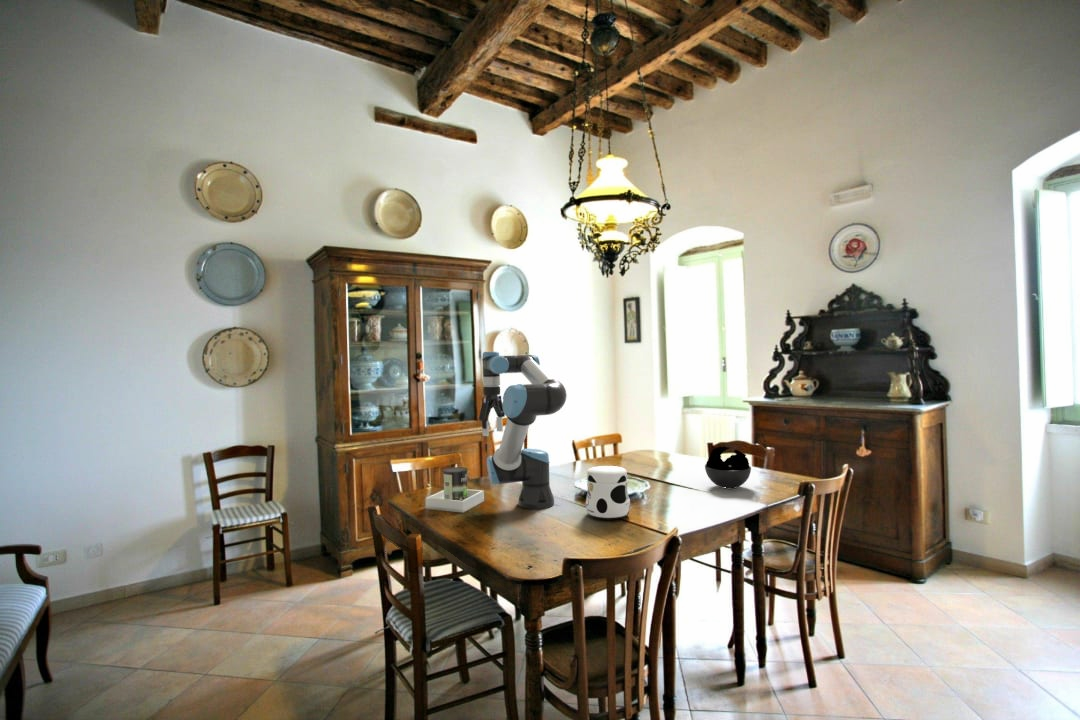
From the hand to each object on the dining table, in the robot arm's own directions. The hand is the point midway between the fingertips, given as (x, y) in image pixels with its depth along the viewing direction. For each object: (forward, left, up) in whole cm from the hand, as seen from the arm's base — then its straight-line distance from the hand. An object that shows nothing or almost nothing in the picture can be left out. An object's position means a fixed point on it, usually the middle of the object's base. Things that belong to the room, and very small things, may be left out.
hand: (492, 433), depth 240 cm
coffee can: (+11, +15, -28) cm, 33 cm away
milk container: (-55, +10, -29) cm, 63 cm away
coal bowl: (-96, -47, -29) cm, 111 cm away
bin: (+11, +15, -29) cm, 34 cm away
